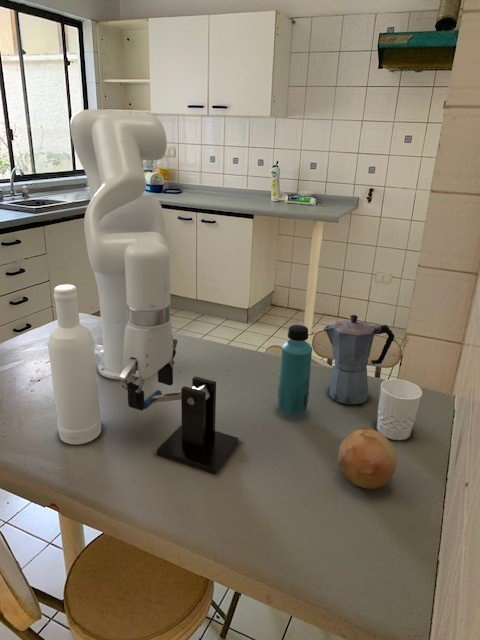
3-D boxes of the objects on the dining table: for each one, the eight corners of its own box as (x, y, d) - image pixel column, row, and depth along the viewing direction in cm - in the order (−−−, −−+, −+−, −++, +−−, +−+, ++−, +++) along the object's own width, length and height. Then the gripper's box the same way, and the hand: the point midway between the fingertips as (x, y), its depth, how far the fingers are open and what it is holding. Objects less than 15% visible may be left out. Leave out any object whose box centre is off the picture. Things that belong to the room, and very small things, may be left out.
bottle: (50, 438, 89) (29, 289, 78) (77, 417, 96) (62, 278, 84) (84, 449, 86) (67, 297, 75) (110, 427, 93) (98, 284, 82)
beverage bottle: (305, 422, 97) (314, 335, 89) (274, 418, 98) (280, 331, 91) (307, 406, 103) (316, 323, 95) (278, 402, 104) (284, 319, 96)
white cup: (385, 415, 101) (392, 374, 97) (420, 431, 95) (429, 389, 92) (366, 429, 95) (373, 387, 92) (401, 447, 90) (410, 403, 86)
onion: (404, 495, 78) (414, 446, 74) (351, 506, 75) (360, 455, 72) (373, 458, 87) (381, 413, 83) (325, 467, 84) (331, 420, 80)
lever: (143, 411, 87) (138, 400, 86) (158, 399, 91) (153, 388, 91) (200, 405, 81) (196, 393, 80) (213, 392, 85) (209, 380, 84)
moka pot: (314, 383, 112) (322, 306, 105) (377, 386, 112) (390, 309, 105) (319, 404, 104) (328, 322, 96) (388, 408, 103) (403, 325, 96)
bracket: (157, 454, 86) (154, 389, 80) (184, 426, 94) (183, 366, 89) (215, 474, 81) (216, 407, 76) (238, 442, 90) (240, 380, 85)
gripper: (158, 294, 91) (159, 370, 97) (99, 326, 76) (106, 413, 83) (191, 301, 88) (190, 379, 95) (138, 336, 73) (141, 425, 80)
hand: (151, 395), depth 89 cm, fingers open, 9 cm apart
